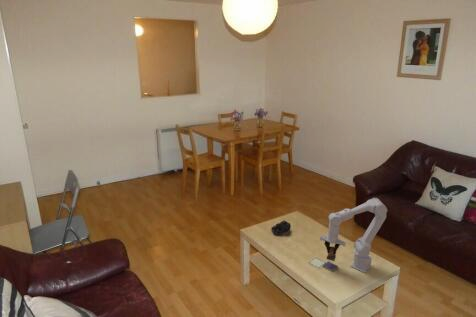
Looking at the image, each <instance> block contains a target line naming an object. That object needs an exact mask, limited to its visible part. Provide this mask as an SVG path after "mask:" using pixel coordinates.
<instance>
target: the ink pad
mask: <svg viewBox="0 0 476 317" xmlns="http://www.w3.org/2000/svg"><path fill="white" fill-rule="evenodd" d="M326 262H327V263H325V264H324V265H323V267H322V268H324V269H326V270H328V271H330V272H332V273H333V272H335V271H336V270H337V269H338V268H339V265H337V264H335V263H333V262H331V261H330V260H329V261H328V260H327V261H326Z"/></svg>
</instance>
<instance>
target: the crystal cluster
mask: <svg viewBox="0 0 476 317" xmlns="http://www.w3.org/2000/svg"><path fill="white" fill-rule="evenodd" d="M291 227H292V226H291V223H290V222H288V221H287V220H282V221H280V222H277V223H276V224H275V225H272V226H271V228H270V229H271V232H272V234H273V235H276V236H279V237H286V236H287V235H288V234H289V233H290V231H291Z"/></svg>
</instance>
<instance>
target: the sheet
mask: <svg viewBox="0 0 476 317" xmlns="http://www.w3.org/2000/svg"><path fill="white" fill-rule="evenodd" d="M327 262H328V261H325V260H323V259H321V258H319V257H317V256H314V257H313V258H311V259H310V260H309V261H307V262H306V263H307V264H308V265H310V266H313V267H314V268H316V269H318V270H321V269H322V268H324V267H323V265H324V264H325V263H327Z"/></svg>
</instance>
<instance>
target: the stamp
mask: <svg viewBox="0 0 476 317" xmlns="http://www.w3.org/2000/svg"><path fill="white" fill-rule="evenodd" d="M336 257H337V254H335V255H334V246H330V247H329V253H327V256H326V260H327V261H328V260H329V261H333V262H335V261H336Z"/></svg>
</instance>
